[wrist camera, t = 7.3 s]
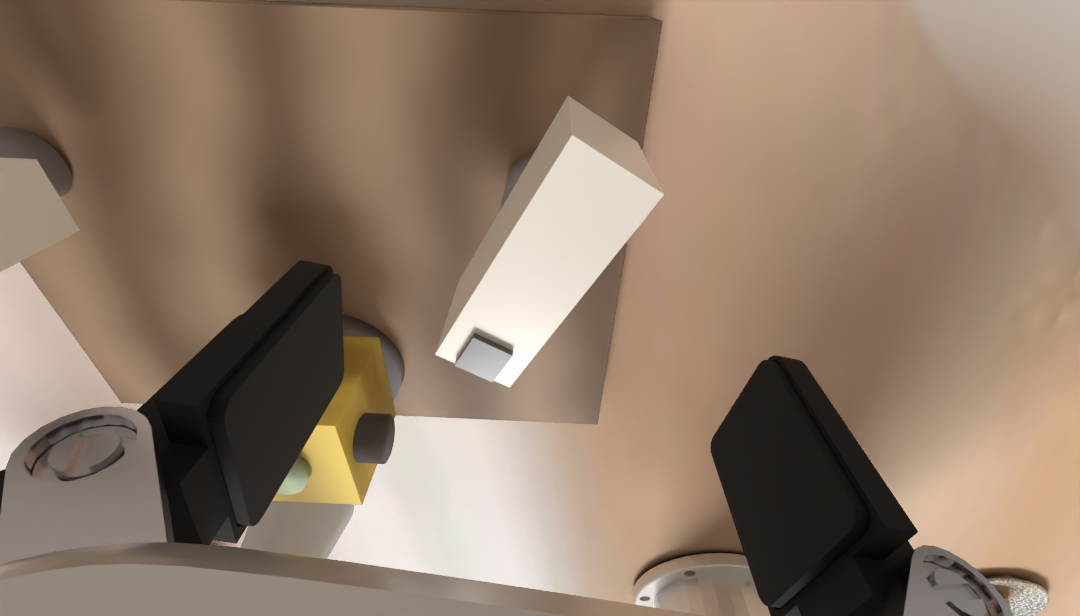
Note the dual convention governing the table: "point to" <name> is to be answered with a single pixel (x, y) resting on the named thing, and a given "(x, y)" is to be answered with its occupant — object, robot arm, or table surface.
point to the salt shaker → (299, 528)
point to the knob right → (547, 242)
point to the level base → (310, 188)
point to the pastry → (1022, 595)
